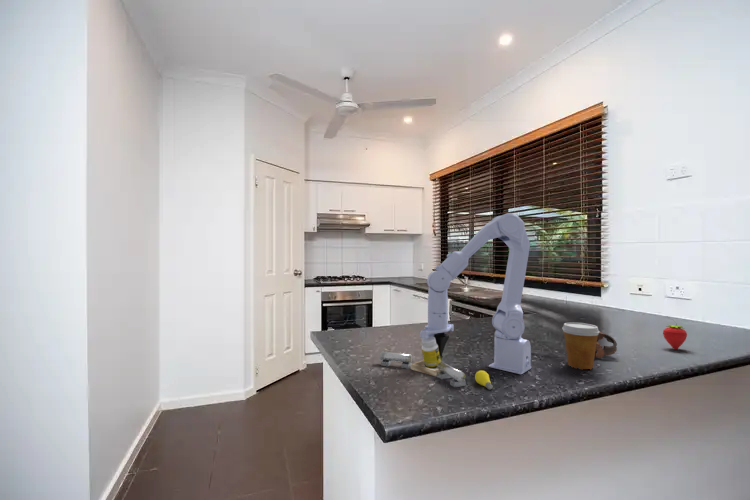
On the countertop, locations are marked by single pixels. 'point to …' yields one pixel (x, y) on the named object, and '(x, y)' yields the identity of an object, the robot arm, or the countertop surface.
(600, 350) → the pottery mug
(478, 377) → the light bulb
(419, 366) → the coupling seat
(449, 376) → the shaft
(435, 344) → the supplement bottle
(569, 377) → the countertop surface
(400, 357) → the grey bar handle
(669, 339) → the strawberry
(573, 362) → the disposable coffee cup
